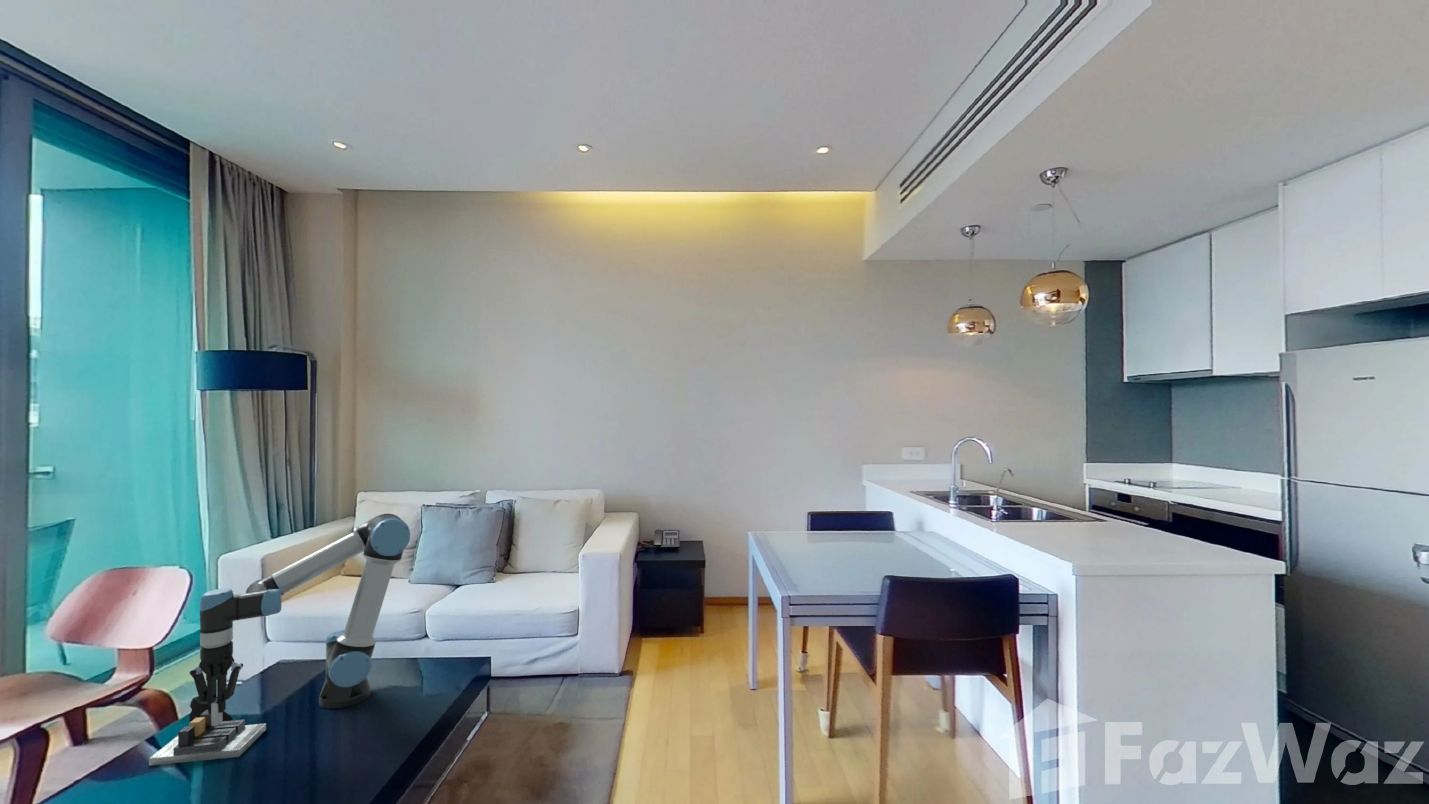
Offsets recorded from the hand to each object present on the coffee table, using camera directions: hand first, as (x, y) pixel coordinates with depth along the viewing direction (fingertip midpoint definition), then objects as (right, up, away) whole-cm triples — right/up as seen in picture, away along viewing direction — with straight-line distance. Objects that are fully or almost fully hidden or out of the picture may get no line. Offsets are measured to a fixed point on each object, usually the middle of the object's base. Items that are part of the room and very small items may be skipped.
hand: (217, 723), depth 180 cm
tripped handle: (-5, -2, -1) cm, 6 cm away
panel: (-1, -7, -1) cm, 7 cm away
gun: (-10, -7, +10) cm, 16 cm away
